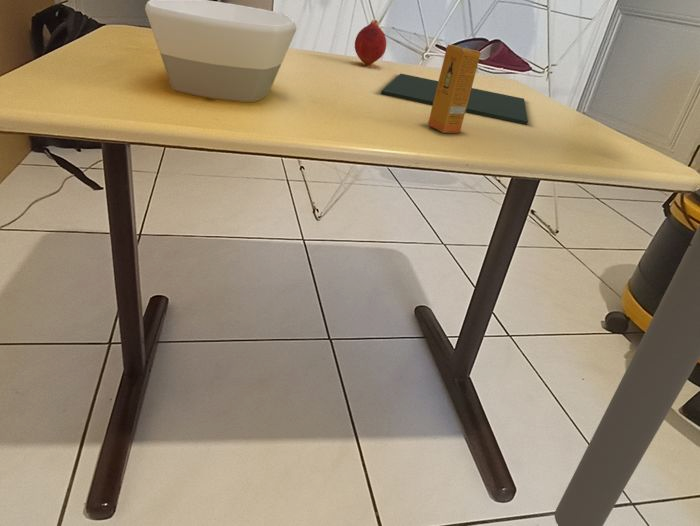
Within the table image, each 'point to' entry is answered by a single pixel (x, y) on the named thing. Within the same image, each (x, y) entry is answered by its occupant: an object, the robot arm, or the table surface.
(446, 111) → the supplement box
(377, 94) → the table surface
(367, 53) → the onion
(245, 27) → the bowl
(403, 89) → the mat
